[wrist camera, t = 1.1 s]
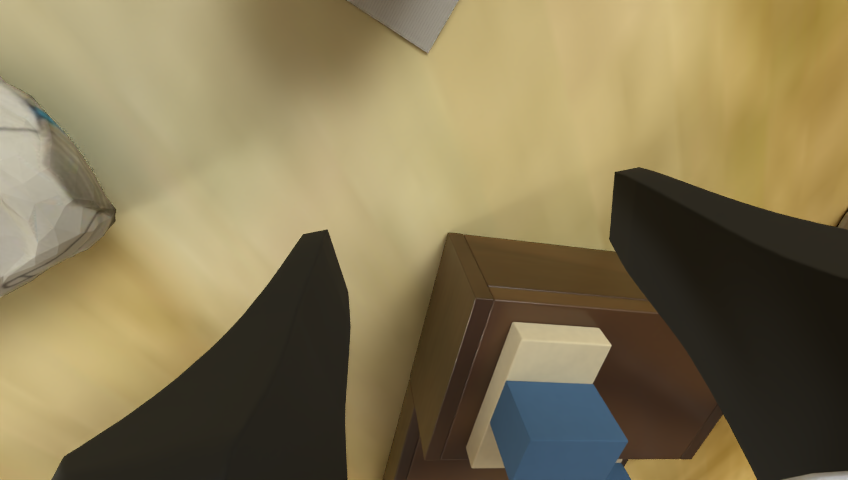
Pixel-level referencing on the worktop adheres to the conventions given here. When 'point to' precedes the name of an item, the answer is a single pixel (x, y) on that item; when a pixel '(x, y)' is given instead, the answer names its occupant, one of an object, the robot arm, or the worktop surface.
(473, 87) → the worktop surface
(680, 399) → the brown block holder
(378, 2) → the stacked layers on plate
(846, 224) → the thermos bottle
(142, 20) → the worktop surface
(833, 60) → the worktop surface
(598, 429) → the cream and blue block
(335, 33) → the worktop surface
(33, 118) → the athletic shoe
